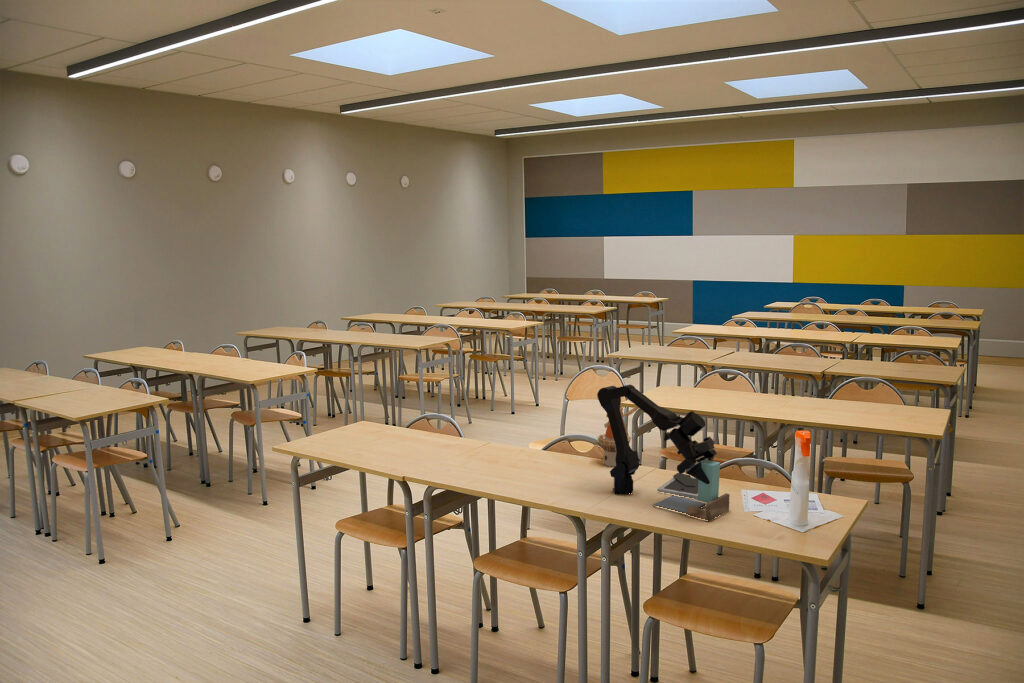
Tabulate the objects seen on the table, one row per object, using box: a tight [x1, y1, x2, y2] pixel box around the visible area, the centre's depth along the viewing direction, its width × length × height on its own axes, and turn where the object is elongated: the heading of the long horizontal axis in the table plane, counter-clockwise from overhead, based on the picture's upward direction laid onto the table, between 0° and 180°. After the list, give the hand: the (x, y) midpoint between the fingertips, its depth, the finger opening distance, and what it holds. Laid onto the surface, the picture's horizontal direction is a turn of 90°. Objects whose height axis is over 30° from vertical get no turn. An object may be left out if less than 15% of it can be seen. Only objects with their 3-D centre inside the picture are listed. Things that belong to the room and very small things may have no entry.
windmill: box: [597, 403, 640, 468], centre depth 317 cm, size 17×14×30 cm
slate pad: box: [653, 495, 707, 514], centre depth 269 cm, size 13×13×1 cm
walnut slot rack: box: [688, 492, 730, 522], centre depth 261 cm, size 8×14×6 cm, turn 139°
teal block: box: [696, 460, 721, 504], centre depth 261 cm, size 5×5×13 cm
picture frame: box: [657, 472, 699, 500], centre depth 288 cm, size 16×3×21 cm
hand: (712, 481), depth 260 cm, fingers closed on teal block, 5 cm apart
